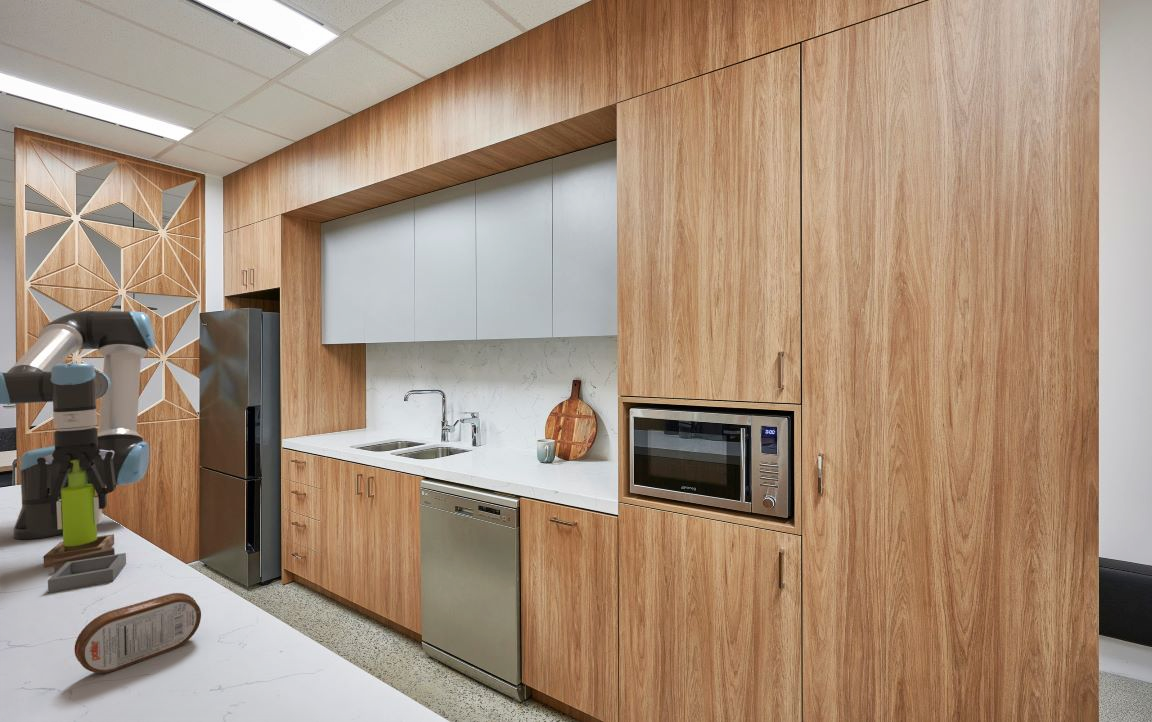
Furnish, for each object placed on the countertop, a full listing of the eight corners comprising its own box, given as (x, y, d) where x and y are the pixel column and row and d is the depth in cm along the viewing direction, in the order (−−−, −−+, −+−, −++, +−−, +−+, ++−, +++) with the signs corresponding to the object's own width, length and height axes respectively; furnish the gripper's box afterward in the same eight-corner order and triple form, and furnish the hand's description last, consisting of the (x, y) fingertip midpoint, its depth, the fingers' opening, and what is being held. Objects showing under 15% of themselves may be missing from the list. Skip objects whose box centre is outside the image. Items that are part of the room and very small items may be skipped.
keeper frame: (67, 573, 117) (66, 562, 117) (126, 563, 121) (125, 552, 121) (48, 592, 107) (47, 580, 107) (113, 581, 112) (112, 569, 112)
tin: (198, 634, 89) (196, 583, 89) (204, 640, 87) (202, 588, 87) (75, 678, 77) (72, 620, 77) (79, 686, 75) (76, 627, 75)
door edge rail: (53, 571, 118) (53, 560, 118) (113, 557, 125) (113, 547, 125) (54, 573, 117) (54, 562, 117) (114, 560, 124) (114, 549, 124)
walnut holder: (61, 552, 130) (60, 541, 130) (114, 544, 135) (113, 534, 135) (43, 567, 121) (43, 556, 121) (101, 558, 126) (101, 547, 125)
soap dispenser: (107, 536, 132) (104, 454, 131) (79, 546, 125) (75, 461, 124) (86, 535, 132) (82, 454, 132) (56, 546, 125) (52, 460, 125)
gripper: (14, 434, 120) (19, 537, 120) (123, 426, 129) (127, 522, 129) (27, 429, 126) (32, 527, 127) (130, 423, 135) (134, 514, 136)
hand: (80, 524), depth 128 cm, fingers closed on soap dispenser, 6 cm apart
